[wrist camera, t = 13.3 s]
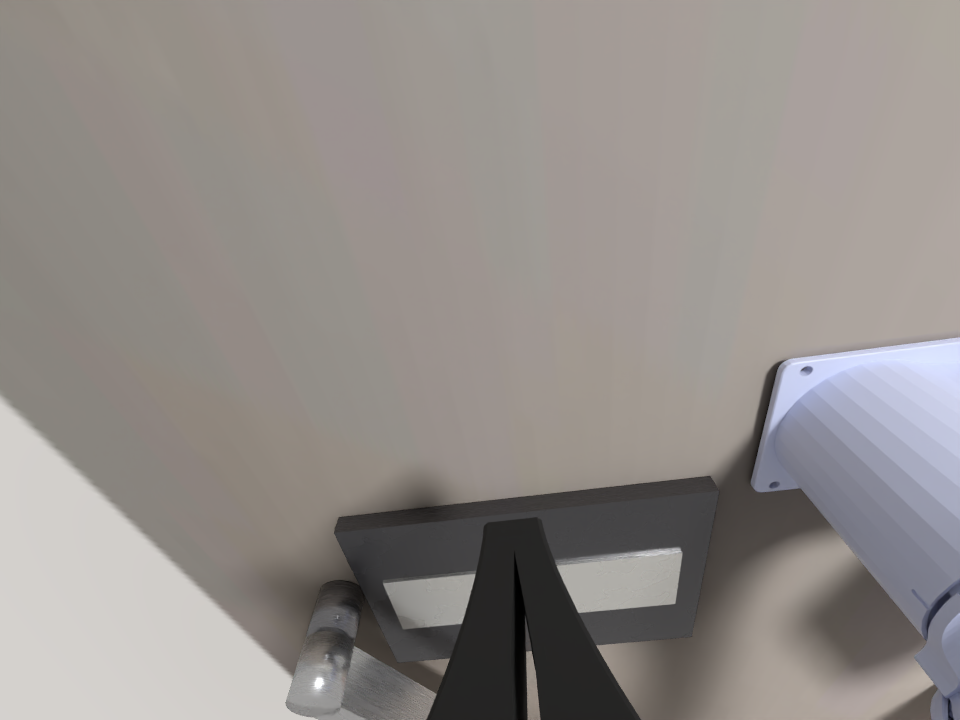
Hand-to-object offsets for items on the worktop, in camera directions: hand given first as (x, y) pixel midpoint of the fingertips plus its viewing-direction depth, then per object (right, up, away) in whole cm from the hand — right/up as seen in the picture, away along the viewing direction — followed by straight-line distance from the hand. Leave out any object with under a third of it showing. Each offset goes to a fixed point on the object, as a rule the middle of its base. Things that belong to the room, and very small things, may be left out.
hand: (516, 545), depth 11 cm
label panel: (+1, -9, +16) cm, 19 cm away
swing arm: (-4, -18, +19) cm, 26 cm away
